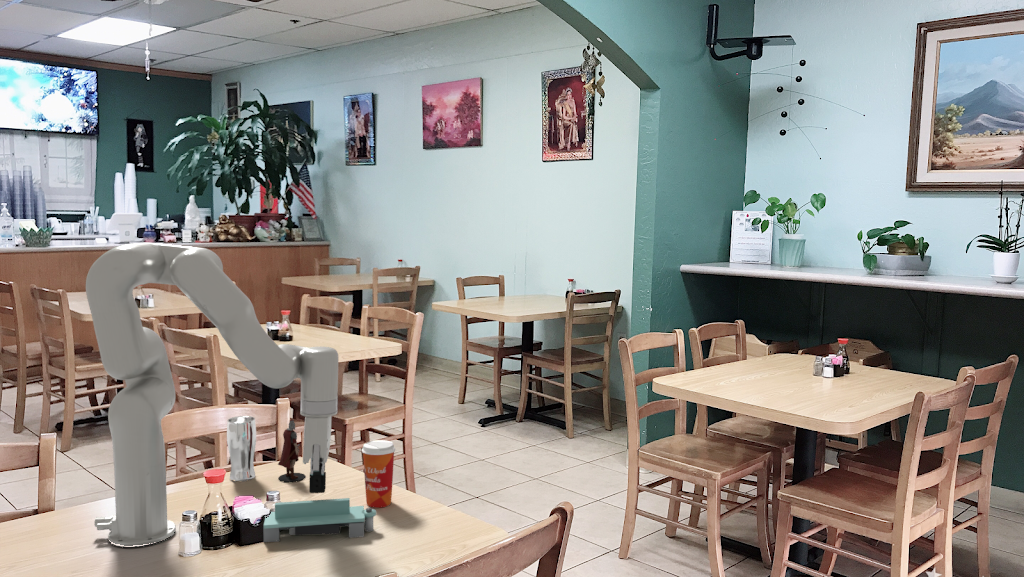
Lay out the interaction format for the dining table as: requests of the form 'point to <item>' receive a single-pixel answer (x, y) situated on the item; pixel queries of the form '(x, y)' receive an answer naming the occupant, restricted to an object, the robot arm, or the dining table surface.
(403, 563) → the dining table surface
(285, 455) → the figurine
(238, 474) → the beer glass
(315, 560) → the dining table surface
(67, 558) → the dining table surface
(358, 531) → the grey frame
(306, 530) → the usb flash drive
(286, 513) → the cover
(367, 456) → the paper cup
